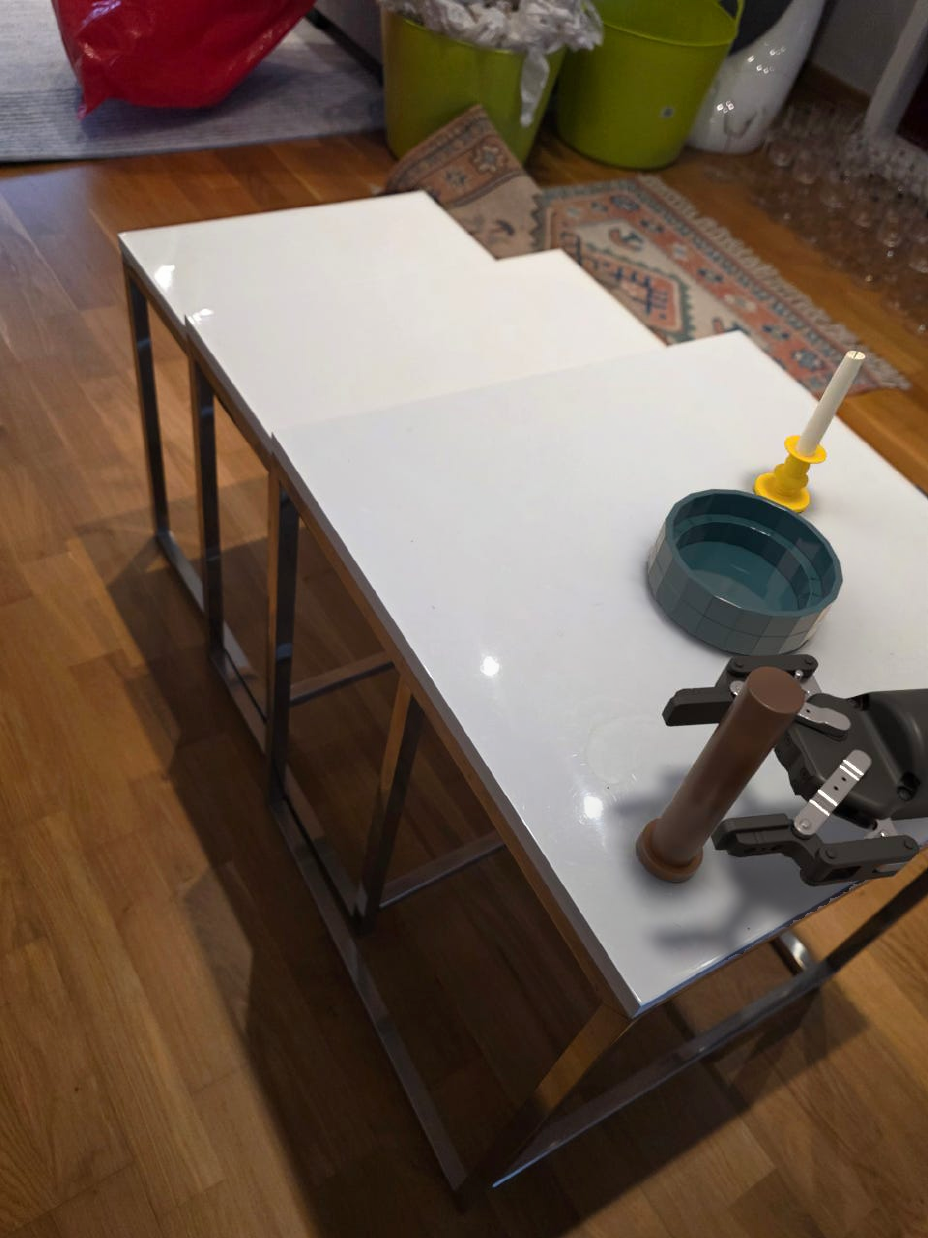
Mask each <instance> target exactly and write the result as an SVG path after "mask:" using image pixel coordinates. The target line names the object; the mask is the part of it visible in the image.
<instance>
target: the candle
mask: <svg viewBox="0 0 928 1238" xmlns="http://www.w3.org/2000/svg"><path fill="white" fill-rule="evenodd" d="M865 359H866V354H864V353H863V352H861V351H860V348H857V350H849V351H848V352H846V354H845V355H844V357H843V358H842V360H841V362H840V364H839V365H838V367H837V369H836V370H835V372H834V374H833V376H832V378H831V379H830V382H829V383H828V386H827V387H826V389H825V390H824V393H823V394H822V396H821V398H820V400H819V402H818V403H817V406H816V407H815V409H814V411H813V413H812V415H811V417H810V419H809V420H808V422H807V424H806V426H805V427H804V430H802V431H803V432H802V433H801V435H799V434H794V435H793V434H792V435H789V436H787V437H785V439H784V442H783V446H784V449H785V450H786V452H787V453H788V455H787V456H786V457H785V460H784V463H779V464H777V465H775V467H774V469H773V471H772V472H765V473H763V474H760V475H759V476H758V477H756V480H755V482H754V484H753V490H754V494H756V495H760V496H763V497H766V498H768V499H770V500H773V501H775V502H777V503H779V504H782V505H784V506H786V507H788V508H790V509H791V510H793V511H794V512H796V513H797V514H799V513H801V512H802V513H803V512H804V511H805V510H806V509H807V508H808V507H809V505H810V503H811V495H810V493H809V491H808V490H807V488H806V487H807V486H808V484H809V480H810V479H809V476H808V474H807V473H808V472H809V471H810V469H811V466H812V465H811V464H813V465H817V464H821V463H823V462H825V461H826V459H827V457H828V454H827V450H826V448H824V447H823V446H822V445H821V444H820V443H821V441H822V440H823V438H824V436H825V434H826V432H827V430H828V429H829V426H830V425H831V423H832V421H833V419H834V418H835V415H836V413H837V412H838V410H839V408H840V406H841V404H842V402H843V401H844V399H845V397H846V395H847V393H848V392H849V390H850V388H851V386H852V384H853V382H854V381H855V379H856V377H857V374H858V372H859V370H860V369H861V366H862V364H863V362H864V360H865Z"/></svg>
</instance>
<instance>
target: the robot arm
mask: <svg viewBox="0 0 928 1238" xmlns="http://www.w3.org/2000/svg"><path fill="white" fill-rule="evenodd" d="M761 667H773V668H777V669H780V670H782V671H784V672H786V673H788V674H790V675H791V676H792V677H793V678H795V679H796V680H797V681H798V683H799V684H800V685H801V687H802V689H803V691H804V694H805V703H804V706H803V707H802V709H801V710H800V712H799V713H798V714H797V716H796V717H795V719H794V720H793V721H792V723H791V724H790V726H789V727H788V728H787V730H786V731H785V732H784V734H783V735H782V737H781V738H780V739H779V741H778V742H777V744H776V745H775V746H774V748H773V752H774V754H775V756H776V758H777V761H778V762H779V763H780V764H781V766H782V767H783V769H784V770H785V771H786V773H787V777H788V781H789V786H790V788H791V790H792V793H794V796H796V797H797V796H800V797H801V798H802V799H803V800H804V801H805V802H807V803H806V804H805V805H804V807H803V808H801V810H800V811H799V812H798V813H797V815H796V816H794V818H789V816H788V814H787V812H781V813H779V812H778V813H770V814H760V815H749V816H739V817H738V816H737V817H729V818H726V819H724V820H721V822H720V823H719V825H718V826H717V827H716V829H715V830H714V832H713V833H712V834H711V836H710V839H711V843H712V844H713V847H714V850H715V851H719V852H721V851H726V852H727V854H728V856H730V857H734V858H748V857H750V858H751V857H756V856H757V857H760V856H767V855H778V854H779V855H782V856H783V857H786V858H790V859H791V860H792V861H793V862H794V863H795V864H796V865H797V867H798V868H799V871H798V874H799V878H800V880H801V881H802V882H803V883H804V884H805V885H807V886H809V887H812V888H816V887H825V886H832V885H840V884H846V883H854V882H862V881H863V882H864V881H869V880H878V879H886V878H893V877H895V876H896V875H897V874H898V873H899V872H900V871H901V870H902V869H904V868H905V867H906V866H907V865H908V864H909V863H910V862H911V861H912V860H913V859H914V858H915V857H916V856H917V855H918V854H919V852H920V845H919V843H918V841H916V840H915V839H914V838H913V837H912V836H910V835H909V834H908V835H907V834H900V832H899V831H898V829H897V827H896V824H895V823H894V822H897V821H909V820H918V819H928V687H925V688H924V687H923V688H909V689H908V688H907V689H893V690H892V689H891V690H875V691H874V690H873V691H868V692H864V693H861V694H858V695H854V696H850V697H845V698H844V697H839V696H834V695H833V694H829V693H827V692H823V690H822V689H821V686H819V683H818V682H817V680H816V677H815V676H814V673H815V672H816V670H817V669H818V667H819V662H818V660H817V658H816V657H814V656H813V655H811V654H809V653H808V654H807V653H799V654H779V655H767V656H749V655H743V656H741V655H740V656H739V655H738V656H732V657H730V658H729V660H728V661H727V664H726V665H725V667H724V668H723V670H722V672H721V674H720V675H719V677H718V679H717V680H716V682H715V684H714V686H707V687H706V686H705V687H687V688H685V687H684V688H681V689H679V690H677V691H675V693H674V695H673V696H672V697H670V698H669V699H668V701H667V703H666V705H665V707H664V709H663V711H662V713H661V716H662V719H663V721H664V724H665V726H667V727H673V728H674V727H685V726H700V725H703V726H704V725H717V724H718V725H719V723H720V721H721V720H722V718H723V717H724V715H725V713H726V712H727V710H728V709H729V707H730V705H731V704H732V702H733V701H734V699H735V697H736V696H737V694H738V693H739V691H740V689H741V688H742V686H743V685H744V683H745V681H746V680H747V678H748V676H749V675H750V674H751V672H753V671H754V670H756V669H758V668H761ZM831 815H833V816H835V817H837V818H839V819H842V820H844V821H846V822H847V823H848V822H849V823H850V824H852V825H853V826H856V827H859V828H862V829H864V830H869V831H868V833H867V834H866V835H865V836H863V838H862V839H856V840H849V841H848V840H846V841H839V842H838V841H837V842H829V843H825V842H824V841H823V839H822V838H821V837H820V836H819V835H818V834H817V833H816V832H817V831H818V830H819V828H820V827H821V826H822V825H823V824H824V822H825V821H826V820H827V819H828V818H829V816H831Z"/></svg>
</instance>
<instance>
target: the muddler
mask: <svg viewBox="0 0 928 1238" xmlns="http://www.w3.org/2000/svg"><path fill="white" fill-rule="evenodd" d="M804 703H805V694H804V691H803V689H802V687H801V685H800V684H799V683H798V681H797V680H796V679H795V678H793V677H792V676H791V675H790V674H788V673H786V672H784V671H782V670H780V669H777V668H773V667H761V668H758V669H756V670H754V671H753V672H751V674H750V675H749V676H748V678H747V680H746V681H745V683H744V685H743V686H742V688H741V689H740V691H739V693H738V694H737V696H736V697H735V699H734V701H733V702H732V704H731V705H730V707H729V709H728V710H727V712H726V713H725V715H724V717H723V718H722V720H721V721H720V723H719V724H718V725H717V726H716V727H715V729H714V731H713V733H712V734H711V736H710V737H709V739H708V741H707V742H706V743H705V746H704V747H703V748H702V750H701V752H700V753H699V755H698V757H697V759H695V761H694V763H693V764H692V766H691V768H690V769H689V770H688V771H689V772H688V773H687V775H686V776H685V777H684V778H683V781H682V782H681V784H680V785H679V787H678V789H677V790H676V792H675V794H674V795H673V797H672V799H670V802H669V803H668V805H667V807H666V808H665V810H664V811H663V813H662V814H661V815H660V817H659V818H658V817H657V818H656V819H653V820H651V821H649V822H648V823H647V824H646V825H645V826H644V828H643V830H642V831H641V832H640V835H639V836H638V839H637V843H636V850H637V855H638V858H639V860H640V862H641V864H642V866H644V868H645V869H646V870H647V871H648V872H649V873H650V874H651V875H653V876H655V877H656V878H657V879H660V880H662V881H665V882H669V883H670V882H671V883H679V882H684V881H686V880H688V879H689V878H691V877H692V876H693V875H694V874H695V873H696V872H697V870H698V869H699V868H700V866H701V864H702V861H703V858H704V849H703V847H704V846H705V844H706V843H707V842H708V840H709V838H711V835H712V833H713V832H714V831H715V829H716V828H717V826H718V825H719V824H720V823H721V822H722V821H723V819H724V818H725V816H726V815H727V814H728V812H729V811H730V809H731V808H732V807H733V805H734V804H735V802H736V801H737V799H738V798H739V797H740V796H741V794H742V792H743V791H744V790H745V788H746V787H748V784H749V783H750V782H751V780H752V779H753V777H754V776H755V774H756V773H757V772H758V770H759V769H760V768H761V766H762V765H763V763H764V762H765V761H766V759H767V758H768V756H769V755H770V754H771V752H772V751H773V750H774V746H775V745H776V744H777V742H778V741H779V739H780V738H781V737H782V735H783V734H784V732H785V731H786V730H787V728H788V727H789V726H790V724H791V723H792V721H793V720H794V719H795V717H796V716H797V714H798V713H799V712H800V710H801V709H802V707H803V706H804Z"/></svg>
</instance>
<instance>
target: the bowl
mask: <svg viewBox="0 0 928 1238" xmlns="http://www.w3.org/2000/svg"><path fill="white" fill-rule="evenodd" d="M647 560H648V561H647V579H648V582H649V585H650V587H651V590H652V592H653V596H654V597H655V599H656V600H657V602H658V603H659V605H660V606H661V607H662V608H663V610H664V612H666V613H667V615H668V616H669V617H670V618H671V619H672V620H673V621H674V622H676V623H677V624H678V625H679V626H681V627H682V628H683V629H685V631H687V632H688V633H690V634H691V635H692V636H693V637H695V638H697V639H699V640H701V641H704V642H706V643H708V644H710V645H712V646H714V647H716V648H718V649H720V650H724V651H729V652H732V653H736V654H740V655H743V656H767V655H783V654H785V653H788V652H791V651H794V650H797V649H799V648H800V647H801V646H802V645H803V644H805V643H806V642H807V641H808V640H809V639H810V638H811V637H813V636H814V633H815V632H816V630H817V629H818V627H819V626H820V624H821V623H822V621H823V620H824V619H825V617H826V615H827V614H828V612H829V611H830V609H831V608H832V607H833V605H834V603H835V602H836V600H838V597H839V594H840V591H841V588H842V585H843V583H844V578H843V572H842V566H841V561H840V558H839V557H838V554H837V553H836V551H835V550H834V548H833V546H832V544H831V542H830V541H829V539H827V538H826V536H825V535H824V534H823V533H822V532H821V531H819V529H818V528H817V527H816V526H815V525H814V524H813V523H811V522H810V521H809V520H807V519H806V518H804V516H802V515H800V514H799V513H796V512H794V511H793V510H791V509H790V508H788V507H786V506H784V505H782V504H779V503H777V502H775V501H773V500H770V499H768V498H766V497H763V496H760V495H756V493H753V492H752V493H751V492H749V491H744V490H739V489H729V488H728V489H727V488H726V489H725V488H709V489H705V490H700V491H696V492H691V493H689V494H688V495H686V496H684V497H683V498H681V499H680V500H678V501H676V502H675V503H674V504H673V506H672V508H671V509H670V511H669V512H668V514H667V516H666V517H665V519H664V522H663V524H662V526H661V529H660V531H659V533H658V535H657V538H656V539H655V542H654V544H653V546H652V548H651V551H650V554H649V556H648V558H647Z"/></svg>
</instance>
